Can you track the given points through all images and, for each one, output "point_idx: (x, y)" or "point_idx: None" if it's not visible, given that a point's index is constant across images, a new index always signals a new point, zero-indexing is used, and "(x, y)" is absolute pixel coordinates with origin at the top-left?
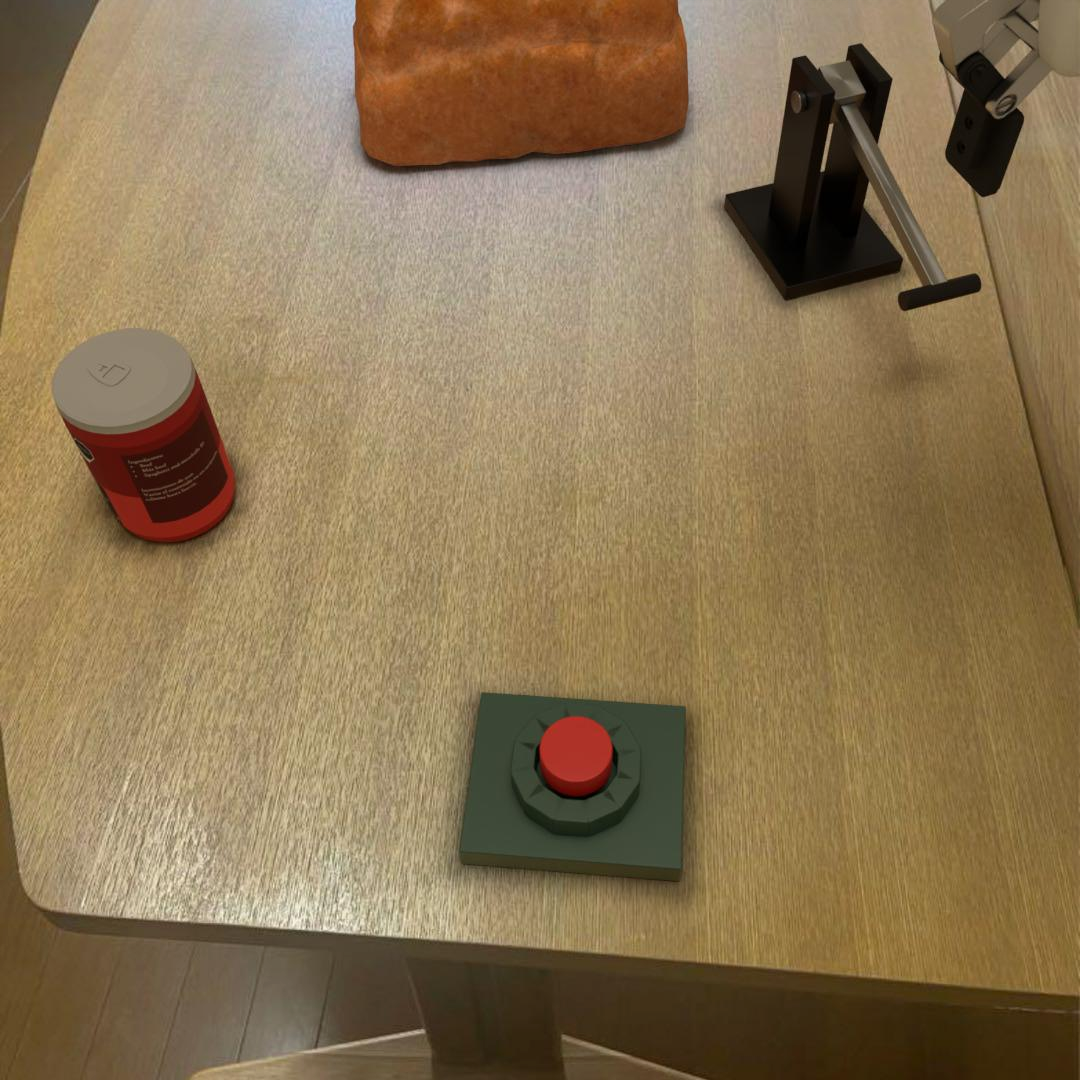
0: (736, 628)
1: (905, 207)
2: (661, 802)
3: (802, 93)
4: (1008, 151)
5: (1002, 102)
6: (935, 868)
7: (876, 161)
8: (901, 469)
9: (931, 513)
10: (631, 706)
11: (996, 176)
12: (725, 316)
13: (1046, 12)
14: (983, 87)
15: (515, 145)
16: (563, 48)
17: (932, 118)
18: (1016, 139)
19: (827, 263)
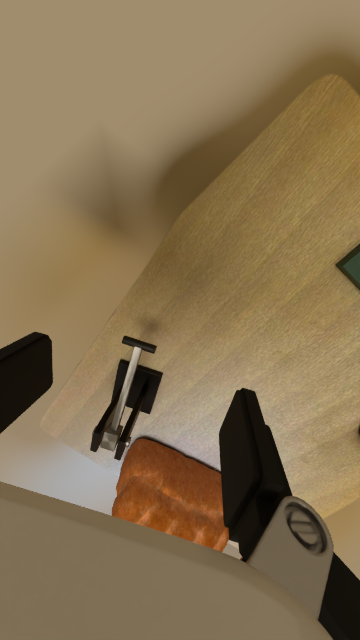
0: (286, 283)
1: (126, 381)
2: None
3: (126, 445)
4: (258, 431)
5: (316, 538)
6: (322, 150)
7: (121, 404)
8: (184, 298)
9: (190, 277)
10: (357, 278)
11: (256, 406)
12: (184, 379)
13: None
14: (349, 592)
15: (192, 464)
16: (171, 494)
17: (66, 396)
18: (249, 441)
19: (142, 375)
